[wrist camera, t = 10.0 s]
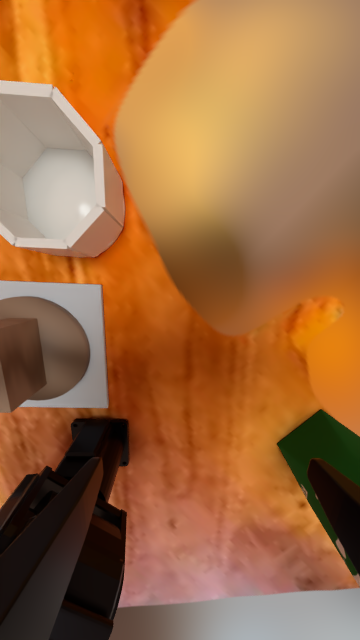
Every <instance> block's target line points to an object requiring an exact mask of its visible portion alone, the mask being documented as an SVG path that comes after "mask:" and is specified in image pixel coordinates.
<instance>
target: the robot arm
mask: <svg viewBox="0 0 360 640" xmlns="http://www.w3.org/2000/svg"><path fill="white" fill-rule="evenodd" d="M123 424H124V425H123ZM71 430H72V439H73V442H72V444H71V445H70V447H69V448H68V450H67V451H66V453H65V456H64V457H63V459H62V461H61V462H60V464H59V465H58V467H57V468H56V470H55V472H54V471H52V468H50V467H48V466H46V467H45V468H44V469H43V470H42V471H41V472H40V473H39V474H37V473H36V474H29V475H26V476H25V478H24V479H23V480H22V481H21V483H20V484H19V485H18V486H17V488H16V489H15V490H14V492H13V493H12V494H11V496H10V497H9V498H8V499H7V501H6V502H5V503H4V505H3V506H2V507H1V509H0V640H108V639H109V637H110V634H111V632H112V629H113V619H114V616H115V613H116V610H117V607H118V603H119V599H120V595H121V591H122V586H123V580H124V567H125V542H126V517H127V512H125V511H124V510H122V509H121V510H119V509H118V508H116V507H114V506H112V505H111V504H109V503H108V500H109V497H110V494H111V490H112V487H113V484H114V481H115V477H116V474H117V471H118V468H119V466H127V465H128V463H129V434H128V422H127V421H126V420H102V419H75V420H74V421H73V422H72V424H71ZM307 476H308V479H309V482H310V484H311V486H312V488H313V490H314V492H315V494H316V496H317V498H318V500H319V502H320V504H321V506H322V508H323V510H324V512H325V514H326V516H327V518H328V520H329V522H330V524H331V526H332V528H333V530H334V532H335V534H336V536H337V537H338V539H339V541H340V543H341V545H342V546H343V548H344V550H345V552H346V553H347V555H348V557H349V559H350V560H351V562H352V564H353V566H354V567H355V569H356V571H357V573H358V574H359V576H360V487H359V486H358V485H357V484H355V483H354V482H353V481H351V480H350V479H349V478H347V477H346V476H344V475H343V474H342V473H340V472H339V471H338V470H336V469H335V468H334V467H332V466H331V465H330V464H328V463H327V462H326V461H324V460H323V459H320V458H312V459H310V462H309V466H308V470H307Z"/></svg>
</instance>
